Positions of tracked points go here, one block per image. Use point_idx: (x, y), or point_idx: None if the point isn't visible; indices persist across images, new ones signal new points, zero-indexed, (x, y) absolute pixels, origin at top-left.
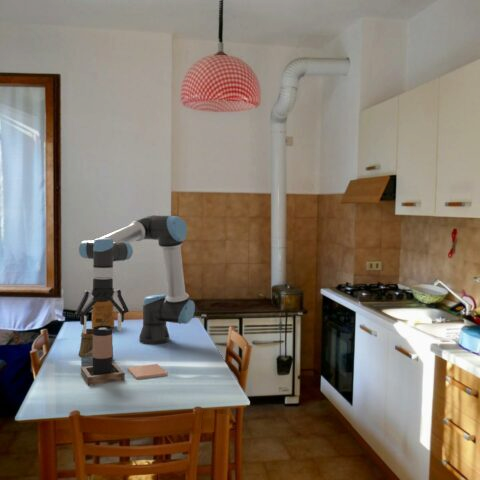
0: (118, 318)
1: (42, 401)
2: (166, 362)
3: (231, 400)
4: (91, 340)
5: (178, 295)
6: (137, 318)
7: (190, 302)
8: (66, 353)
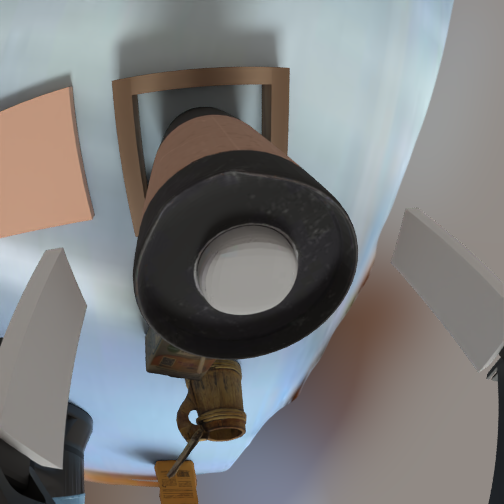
0: (48, 396)
1: (422, 13)
2: None
3: None
4: (215, 402)
5: None
6: (119, 475)
7: None
8: (266, 379)
